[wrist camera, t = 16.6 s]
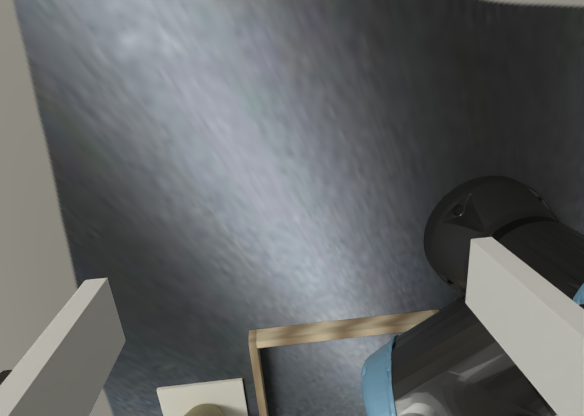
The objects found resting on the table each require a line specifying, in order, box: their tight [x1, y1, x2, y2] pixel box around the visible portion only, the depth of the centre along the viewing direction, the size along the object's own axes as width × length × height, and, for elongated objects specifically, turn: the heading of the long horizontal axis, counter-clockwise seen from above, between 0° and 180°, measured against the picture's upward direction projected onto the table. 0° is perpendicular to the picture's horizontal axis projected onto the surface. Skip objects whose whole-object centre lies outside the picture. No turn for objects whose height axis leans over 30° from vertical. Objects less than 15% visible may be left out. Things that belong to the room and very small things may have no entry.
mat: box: [157, 378, 248, 416], centre depth 58 cm, size 12×12×1 cm
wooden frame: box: [249, 309, 439, 416], centre depth 56 cm, size 26×22×2 cm
